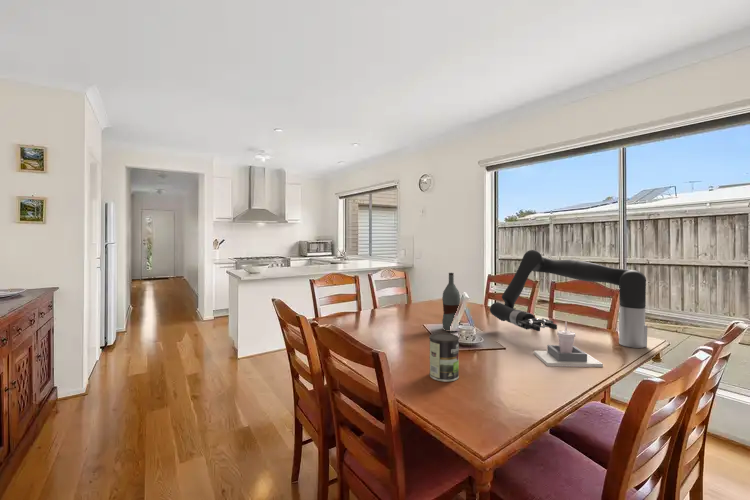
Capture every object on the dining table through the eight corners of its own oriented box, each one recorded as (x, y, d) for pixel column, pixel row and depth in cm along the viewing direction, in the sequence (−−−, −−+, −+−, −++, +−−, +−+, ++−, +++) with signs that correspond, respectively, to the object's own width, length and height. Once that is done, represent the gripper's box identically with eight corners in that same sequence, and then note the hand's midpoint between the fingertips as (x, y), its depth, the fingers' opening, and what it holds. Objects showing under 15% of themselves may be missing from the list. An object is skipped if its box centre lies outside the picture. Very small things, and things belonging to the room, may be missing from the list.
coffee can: (462, 373, 126) (462, 335, 125) (453, 384, 117) (453, 342, 117) (435, 368, 131) (435, 331, 131) (424, 378, 123) (424, 338, 122)
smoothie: (573, 354, 141) (573, 320, 140) (576, 360, 135) (577, 324, 134) (555, 353, 143) (556, 319, 142) (558, 358, 137) (558, 323, 136)
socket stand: (583, 354, 145) (583, 344, 145) (602, 367, 131) (603, 355, 131) (533, 353, 146) (533, 343, 146) (547, 366, 132) (547, 355, 132)
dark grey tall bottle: (459, 333, 177) (459, 274, 176) (441, 331, 180) (441, 273, 179) (461, 328, 186) (461, 272, 185) (443, 327, 189) (443, 271, 188)
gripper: (509, 312, 161) (534, 320, 145) (534, 310, 165) (562, 317, 149) (508, 328, 161) (533, 338, 146) (534, 325, 165) (561, 335, 150)
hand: (548, 328), depth 148 cm, fingers open, 8 cm apart
